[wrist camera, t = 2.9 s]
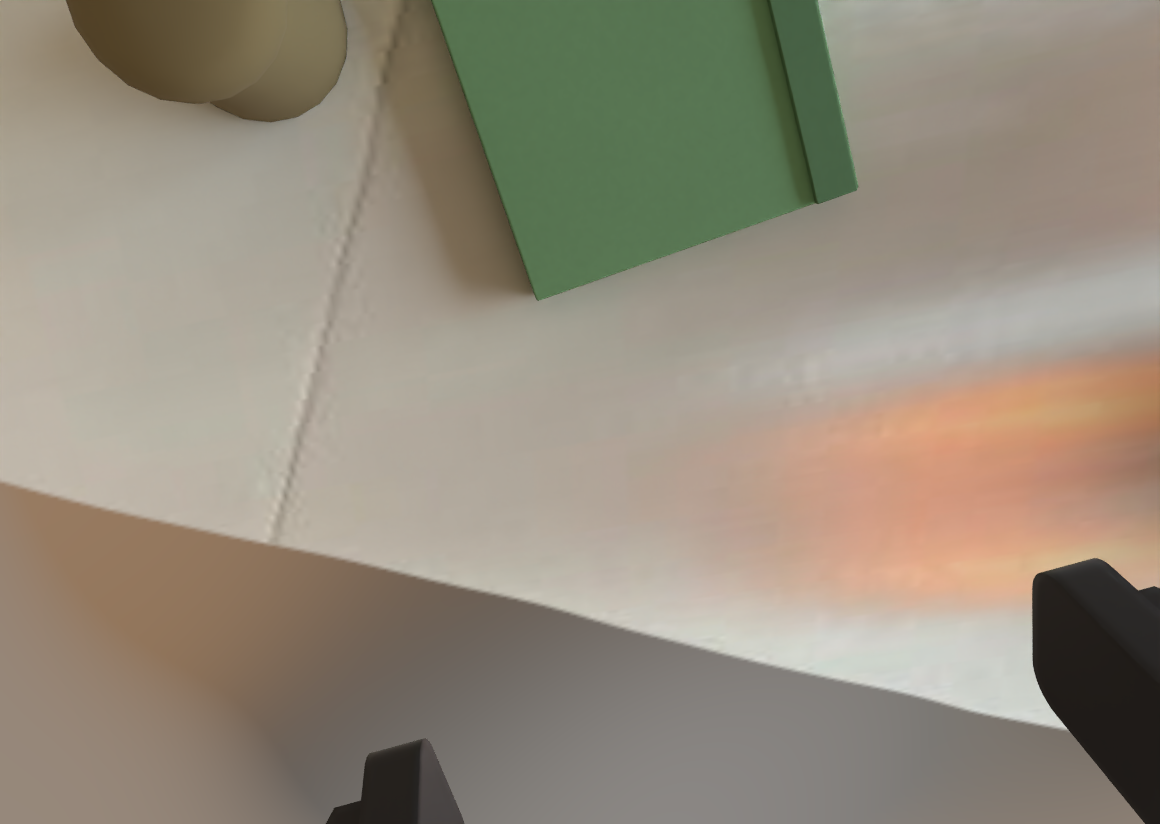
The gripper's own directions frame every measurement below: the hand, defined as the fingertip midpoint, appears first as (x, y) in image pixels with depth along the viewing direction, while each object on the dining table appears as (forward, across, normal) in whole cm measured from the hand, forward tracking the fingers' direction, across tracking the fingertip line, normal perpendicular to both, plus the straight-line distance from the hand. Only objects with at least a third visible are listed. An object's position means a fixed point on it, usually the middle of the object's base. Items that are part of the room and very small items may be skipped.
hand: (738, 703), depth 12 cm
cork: (+27, +8, -9) cm, 30 cm away
